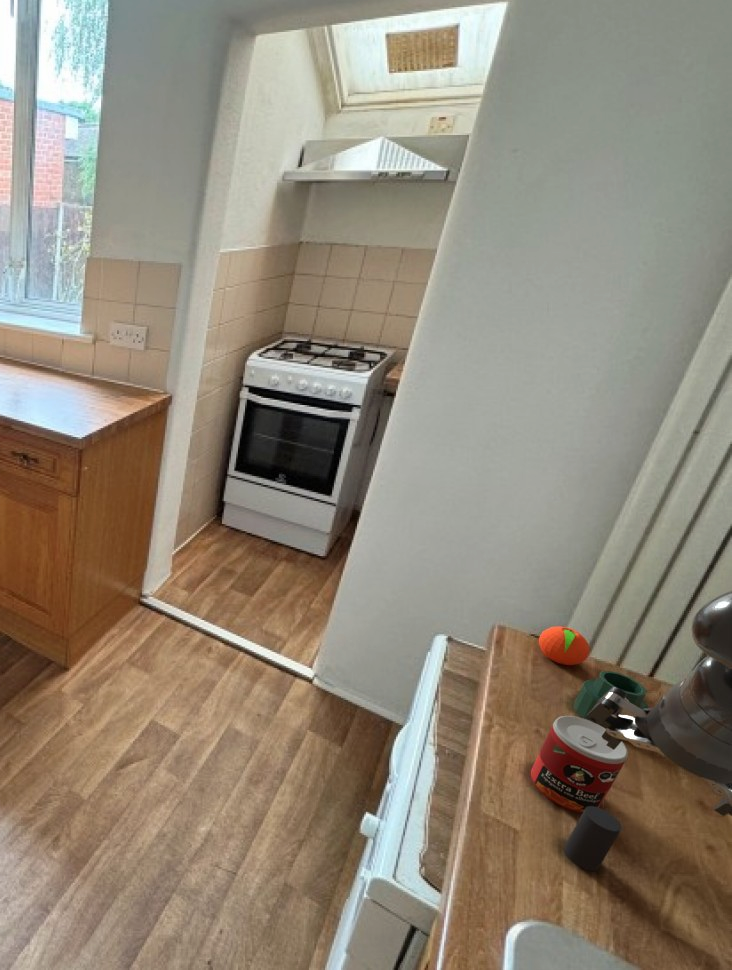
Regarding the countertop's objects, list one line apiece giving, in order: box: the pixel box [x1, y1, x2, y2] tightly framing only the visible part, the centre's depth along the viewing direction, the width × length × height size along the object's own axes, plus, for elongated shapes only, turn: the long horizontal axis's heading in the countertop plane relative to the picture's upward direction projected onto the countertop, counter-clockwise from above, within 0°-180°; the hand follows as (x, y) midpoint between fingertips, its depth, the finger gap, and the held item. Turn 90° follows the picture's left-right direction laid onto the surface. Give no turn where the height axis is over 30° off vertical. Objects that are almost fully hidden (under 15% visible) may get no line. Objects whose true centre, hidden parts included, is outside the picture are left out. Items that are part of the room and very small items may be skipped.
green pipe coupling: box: [573, 670, 650, 729], centre depth 100 cm, size 8×8×8 cm
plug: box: [563, 806, 623, 872], centre depth 78 cm, size 3×3×8 cm
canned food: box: [530, 715, 629, 814], centre depth 87 cm, size 8×8×11 cm
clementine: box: [538, 626, 591, 666], centre depth 113 cm, size 8×7×7 cm
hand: (665, 771), depth 65 cm, fingers open, 8 cm apart
